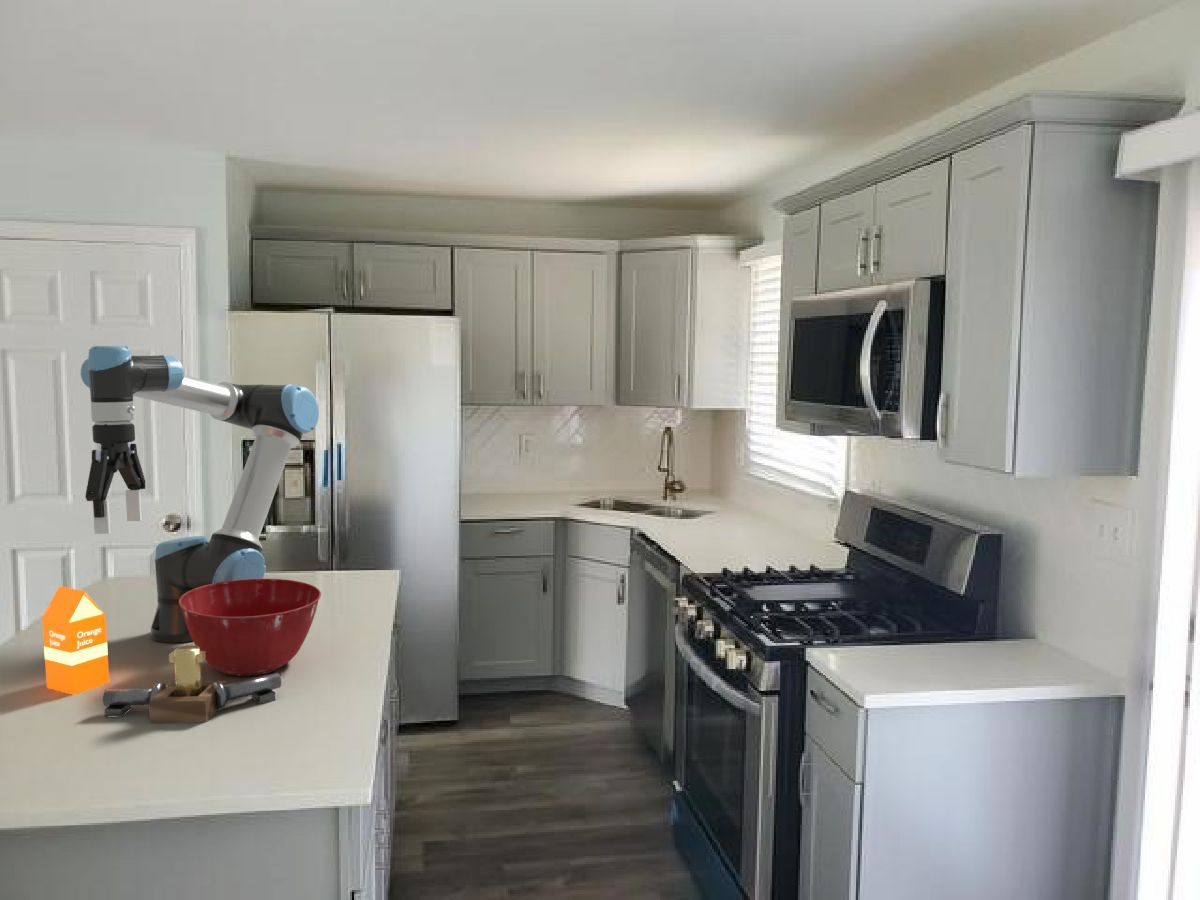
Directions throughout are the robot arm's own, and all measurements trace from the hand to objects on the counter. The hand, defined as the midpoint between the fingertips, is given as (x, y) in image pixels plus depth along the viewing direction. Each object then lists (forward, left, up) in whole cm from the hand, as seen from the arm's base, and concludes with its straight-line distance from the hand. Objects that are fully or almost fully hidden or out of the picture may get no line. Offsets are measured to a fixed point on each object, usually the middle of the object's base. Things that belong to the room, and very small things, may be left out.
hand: (119, 527), depth 185 cm
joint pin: (+19, +20, -32) cm, 42 cm away
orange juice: (+4, -8, -32) cm, 33 cm away
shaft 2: (+15, +30, -32) cm, 46 cm away
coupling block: (+19, +20, -32) cm, 42 cm away
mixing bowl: (-6, +24, -32) cm, 40 cm away
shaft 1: (+19, +10, -32) cm, 38 cm away
